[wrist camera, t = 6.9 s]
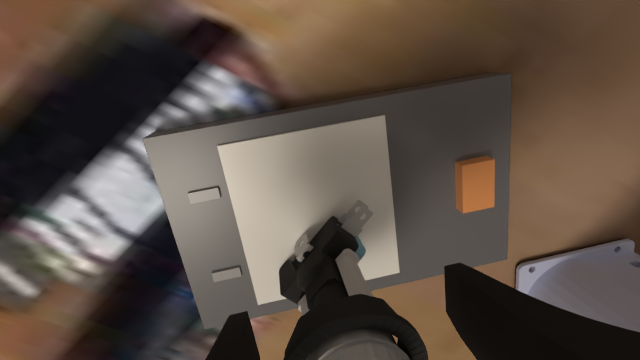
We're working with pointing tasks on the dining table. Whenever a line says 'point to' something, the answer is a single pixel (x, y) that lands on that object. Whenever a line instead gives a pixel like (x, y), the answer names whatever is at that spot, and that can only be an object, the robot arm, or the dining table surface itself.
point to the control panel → (339, 188)
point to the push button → (342, 300)
